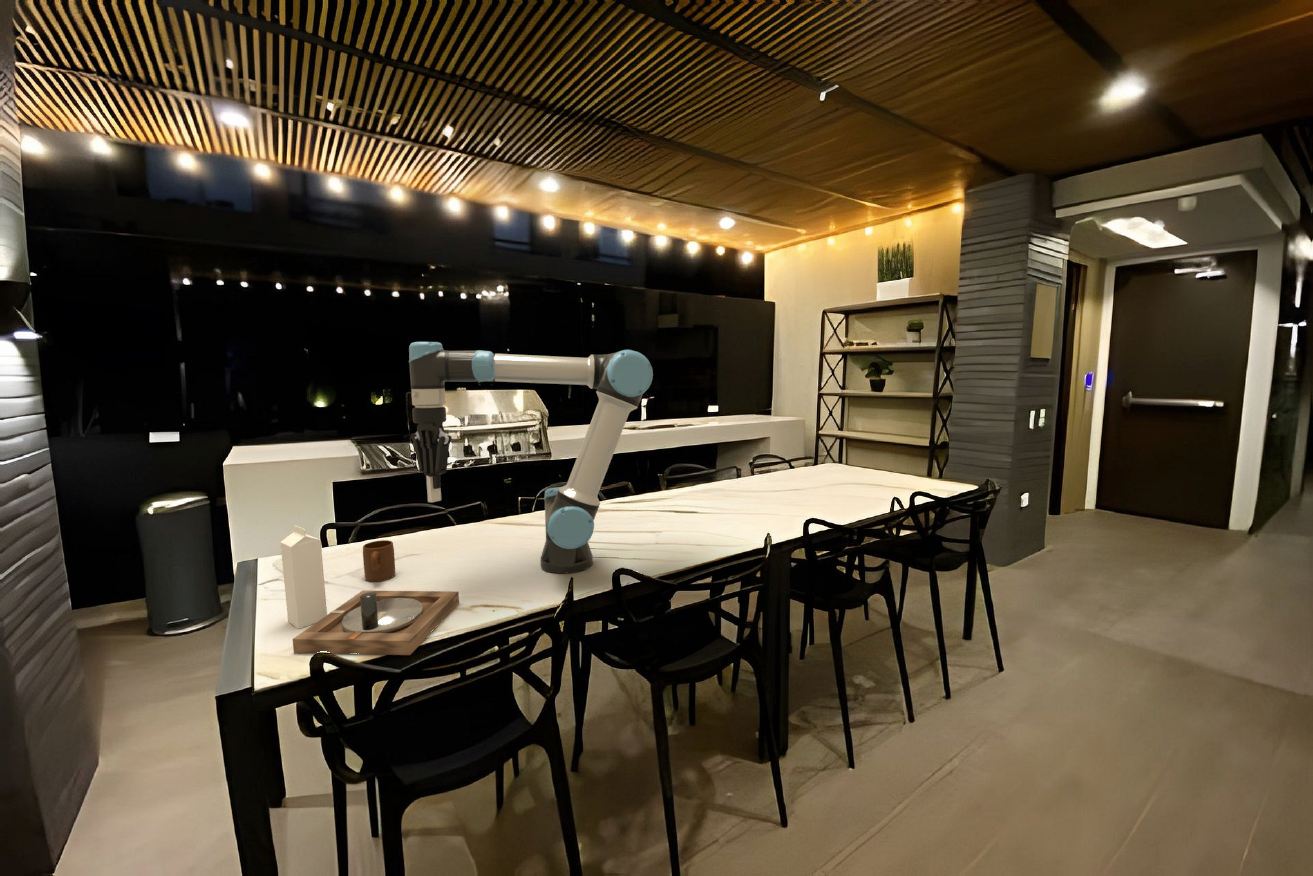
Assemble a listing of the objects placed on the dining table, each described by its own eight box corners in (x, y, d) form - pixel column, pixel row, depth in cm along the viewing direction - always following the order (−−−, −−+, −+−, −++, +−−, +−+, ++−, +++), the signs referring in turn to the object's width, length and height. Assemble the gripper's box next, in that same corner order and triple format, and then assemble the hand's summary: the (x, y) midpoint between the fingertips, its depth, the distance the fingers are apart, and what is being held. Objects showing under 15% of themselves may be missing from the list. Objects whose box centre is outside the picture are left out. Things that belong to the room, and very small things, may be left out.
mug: (391, 586, 141) (389, 552, 140) (359, 590, 138) (356, 555, 137) (397, 570, 152) (395, 538, 151) (367, 574, 150) (364, 541, 148)
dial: (362, 604, 126) (360, 571, 125) (432, 601, 127) (430, 568, 126) (327, 637, 110) (324, 599, 109) (407, 634, 111) (405, 596, 110)
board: (459, 603, 130) (458, 590, 130) (410, 655, 106) (409, 640, 106) (363, 602, 131) (362, 589, 131) (293, 653, 107) (292, 638, 107)
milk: (316, 612, 126) (309, 521, 123) (328, 619, 122) (320, 526, 120) (287, 622, 121) (278, 527, 118) (297, 629, 117) (289, 532, 115)
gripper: (398, 406, 130) (405, 500, 133) (432, 408, 123) (437, 507, 126) (426, 404, 136) (431, 494, 139) (459, 406, 129) (464, 501, 132)
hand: (434, 500), depth 132 cm, fingers closed
